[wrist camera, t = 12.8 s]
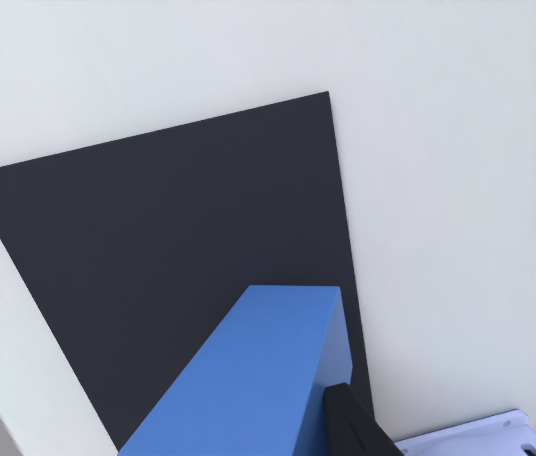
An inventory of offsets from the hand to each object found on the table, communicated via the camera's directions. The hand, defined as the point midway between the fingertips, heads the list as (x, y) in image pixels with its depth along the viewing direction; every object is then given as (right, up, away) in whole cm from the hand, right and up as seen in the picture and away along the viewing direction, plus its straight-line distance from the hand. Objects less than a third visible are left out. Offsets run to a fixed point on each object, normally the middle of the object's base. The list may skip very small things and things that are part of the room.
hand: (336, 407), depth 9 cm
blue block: (-1, +1, +4) cm, 5 cm away
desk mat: (-5, +1, +6) cm, 8 cm away
